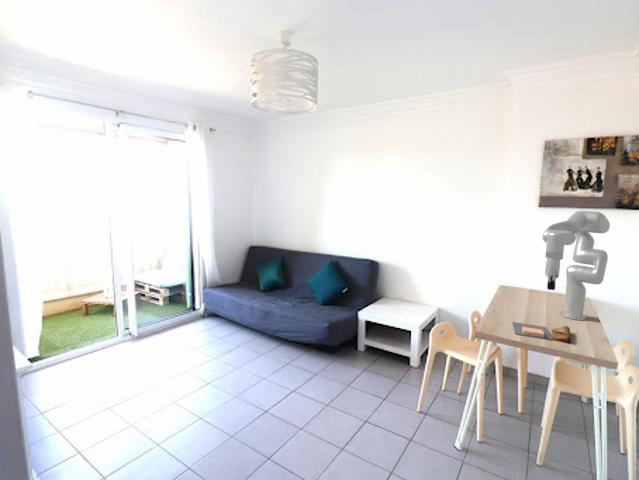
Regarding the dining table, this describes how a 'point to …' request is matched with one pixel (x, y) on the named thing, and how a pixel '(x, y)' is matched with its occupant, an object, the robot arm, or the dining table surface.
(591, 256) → the robot arm
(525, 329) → the slab
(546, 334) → the mat
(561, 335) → the sunglasses case
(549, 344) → the dining table surface
